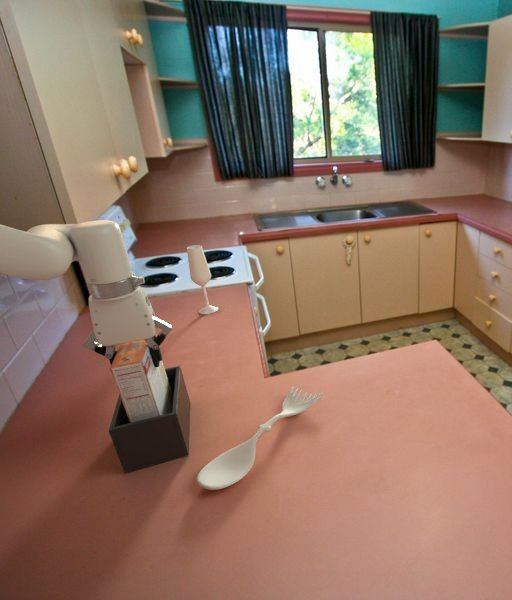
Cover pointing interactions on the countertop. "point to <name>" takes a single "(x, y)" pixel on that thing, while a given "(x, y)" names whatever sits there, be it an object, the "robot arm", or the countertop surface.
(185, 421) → the open box
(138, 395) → the cracker box
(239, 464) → the spoon
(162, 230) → the countertop surface
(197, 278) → the champagne flute
